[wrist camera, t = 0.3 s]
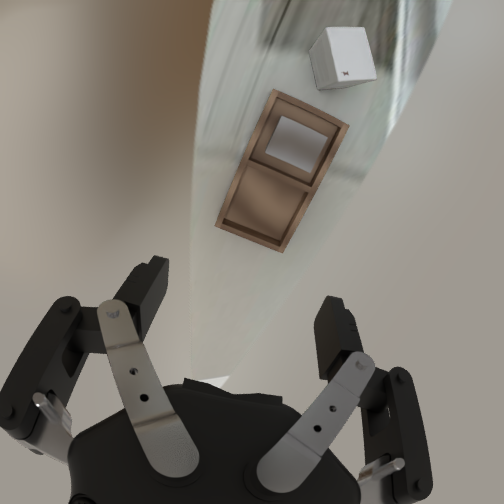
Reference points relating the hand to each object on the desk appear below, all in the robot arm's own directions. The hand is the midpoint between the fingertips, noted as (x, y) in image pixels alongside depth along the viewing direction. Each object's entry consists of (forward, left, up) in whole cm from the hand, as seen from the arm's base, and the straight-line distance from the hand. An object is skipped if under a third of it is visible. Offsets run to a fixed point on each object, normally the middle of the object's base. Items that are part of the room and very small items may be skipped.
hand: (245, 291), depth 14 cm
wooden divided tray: (-1, +2, -28) cm, 28 cm away
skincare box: (-17, +2, -28) cm, 33 cm away
